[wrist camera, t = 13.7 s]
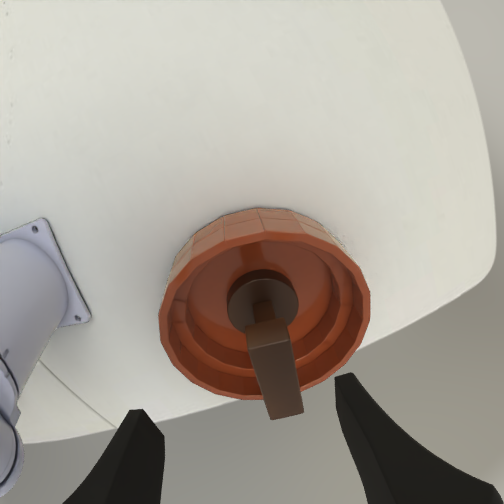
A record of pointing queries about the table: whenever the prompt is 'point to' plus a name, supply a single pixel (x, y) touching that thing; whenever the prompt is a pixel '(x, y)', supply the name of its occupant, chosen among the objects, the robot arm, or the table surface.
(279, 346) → the brown lever knob
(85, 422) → the table surface
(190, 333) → the bowl
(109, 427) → the table surface
